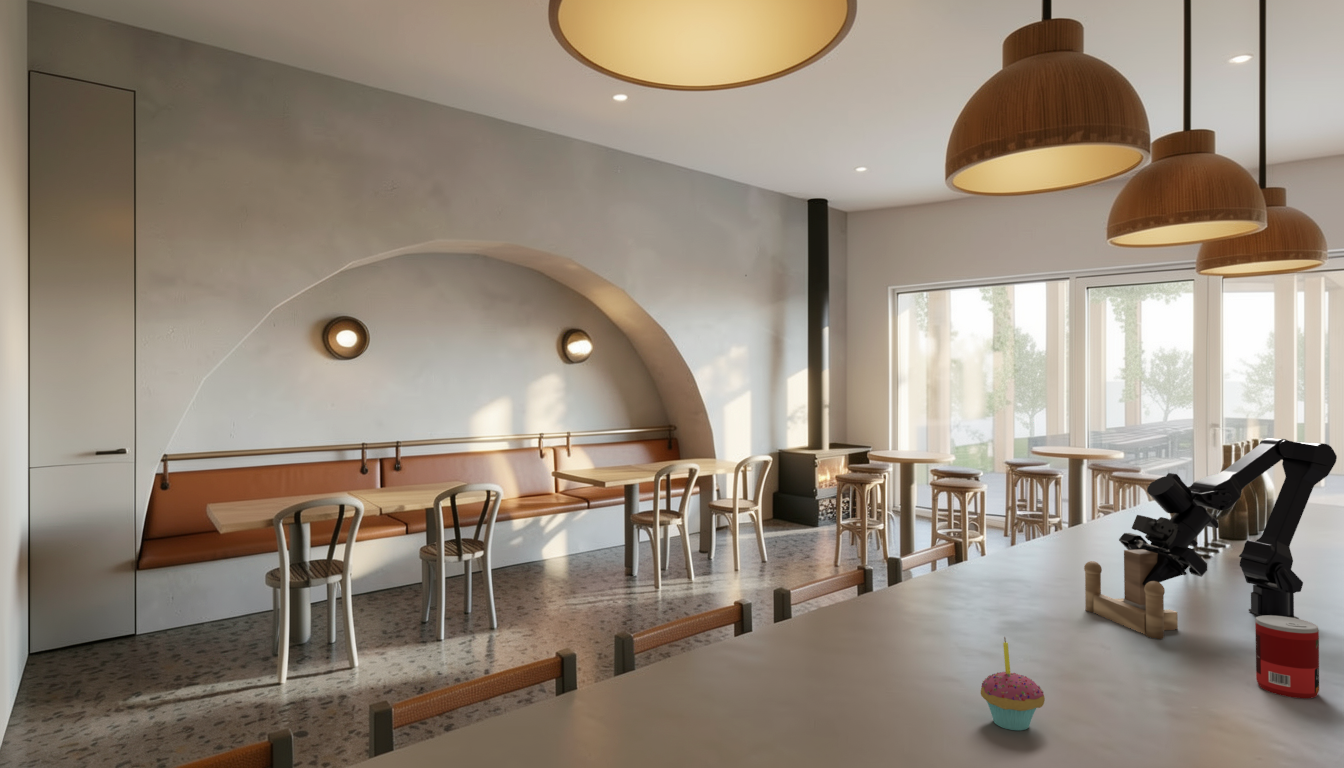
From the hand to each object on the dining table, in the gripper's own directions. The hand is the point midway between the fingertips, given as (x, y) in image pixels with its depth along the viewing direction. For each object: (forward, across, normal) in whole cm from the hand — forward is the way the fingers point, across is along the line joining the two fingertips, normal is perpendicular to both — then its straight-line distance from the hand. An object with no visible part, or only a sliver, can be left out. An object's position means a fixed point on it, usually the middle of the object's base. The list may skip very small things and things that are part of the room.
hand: (1135, 582), depth 160 cm
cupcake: (+44, +42, -32) cm, 69 cm away
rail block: (+4, 0, +6) cm, 7 cm away
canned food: (+8, +36, +4) cm, 37 cm away
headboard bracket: (+6, 0, +6) cm, 8 cm away
